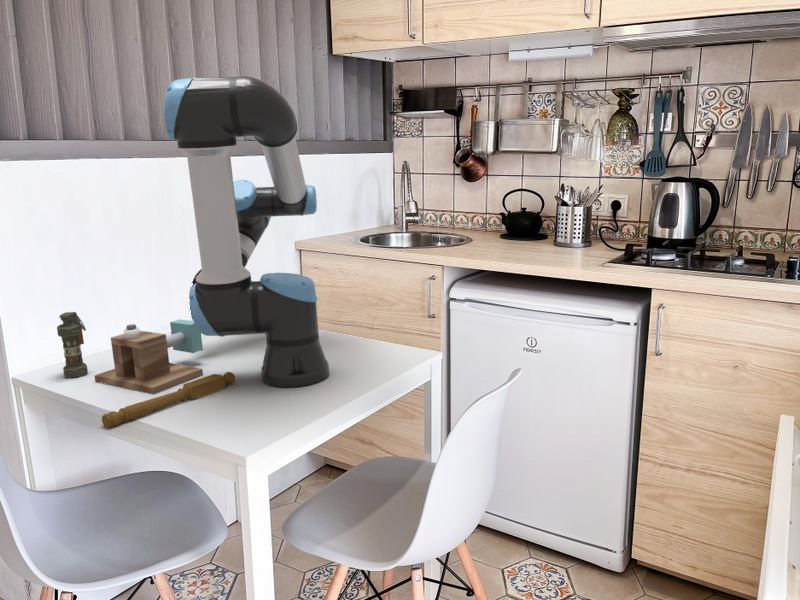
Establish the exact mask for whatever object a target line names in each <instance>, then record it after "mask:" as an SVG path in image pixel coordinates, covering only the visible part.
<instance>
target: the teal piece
mask: <svg viewBox="0 0 800 600" xmlns="http://www.w3.org/2000/svg"><path fill="white" fill-rule="evenodd" d="M169 326H170V335H166V340H167V348H168V349H170V348H172V350H173V351H178V352H184V353H185V352H186V353H190V354H195V353H198V352H200V351H203V350H204V349H203V340H202V333H201V332H200V331H199V330H198V329H197V327H196V325H195V323H194V321H192V320H186V319H177V320H173V321H170V322H169Z"/></svg>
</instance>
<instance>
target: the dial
mask: <svg viewBox="0 0 800 600" xmlns="http://www.w3.org/2000/svg"><path fill="white" fill-rule="evenodd" d="M139 330H140V327H138V326H137V324H133V323H132V324H128V325H126V328H124V329H123V334H124V335H125V339H127V340H131V339H137V338H140V331H141V330H140V331H139Z"/></svg>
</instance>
